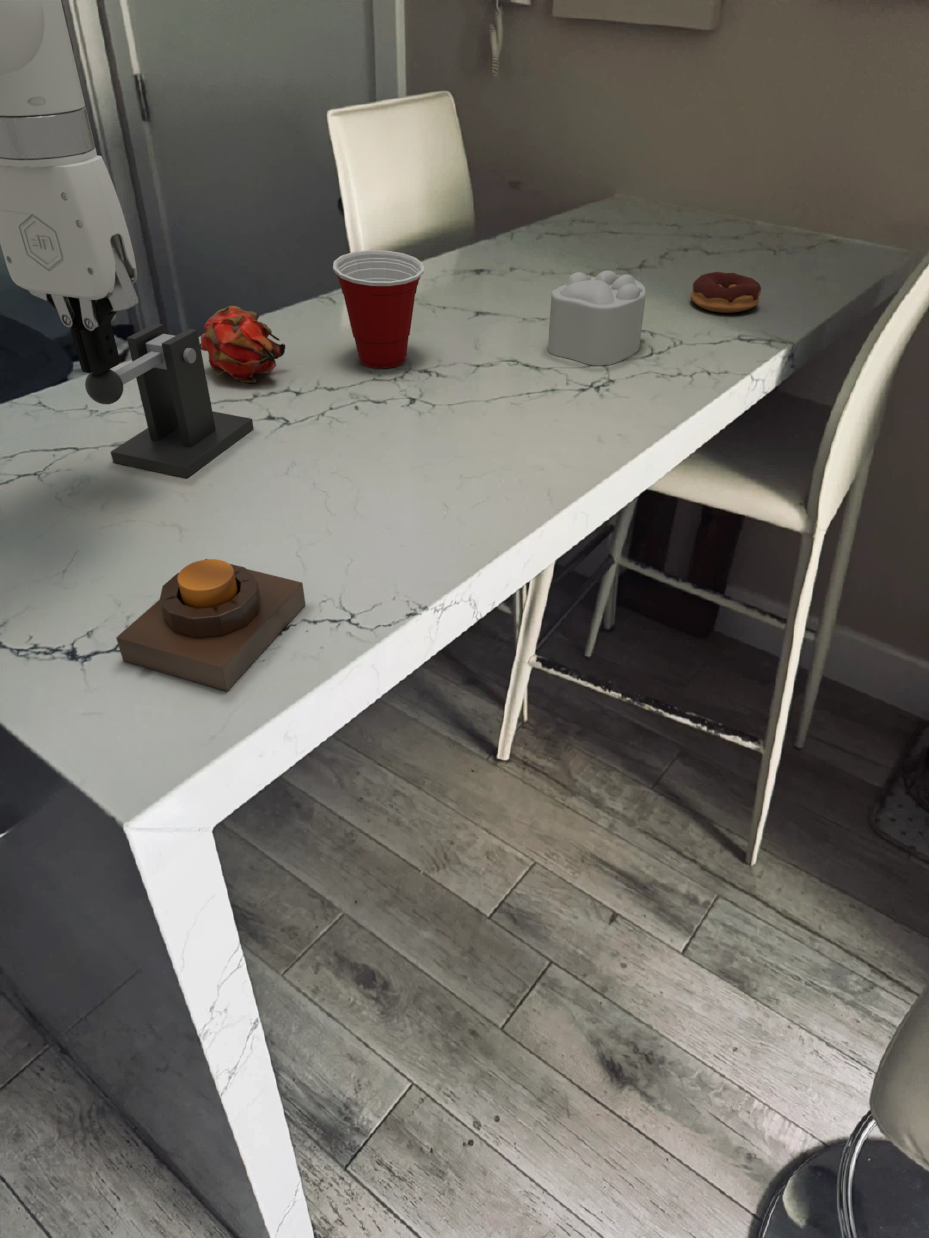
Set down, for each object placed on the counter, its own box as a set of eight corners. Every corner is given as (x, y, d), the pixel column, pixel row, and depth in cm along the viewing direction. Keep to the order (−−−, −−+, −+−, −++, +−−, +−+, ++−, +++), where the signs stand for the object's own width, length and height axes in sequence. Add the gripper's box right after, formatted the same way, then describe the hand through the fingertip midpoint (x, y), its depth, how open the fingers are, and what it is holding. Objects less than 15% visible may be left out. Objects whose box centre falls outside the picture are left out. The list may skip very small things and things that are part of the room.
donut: (696, 291, 133) (700, 264, 130) (762, 299, 130) (768, 271, 127) (682, 311, 125) (686, 283, 123) (752, 320, 122) (757, 291, 120)
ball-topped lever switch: (111, 412, 78) (102, 378, 76) (82, 407, 79) (73, 373, 77) (191, 364, 87) (185, 333, 85) (164, 360, 88) (158, 328, 86)
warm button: (217, 614, 62) (212, 595, 61) (170, 602, 64) (165, 582, 62) (247, 584, 65) (244, 565, 64) (202, 573, 66) (198, 554, 65)
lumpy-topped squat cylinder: (537, 350, 113) (541, 281, 108) (591, 324, 121) (596, 258, 116) (606, 369, 108) (613, 298, 103) (657, 340, 116) (666, 273, 111)
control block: (227, 691, 61) (217, 647, 59) (122, 660, 64) (109, 617, 61) (305, 604, 69) (300, 563, 67) (210, 580, 72) (201, 539, 70)
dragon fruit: (223, 369, 112) (279, 410, 106) (169, 346, 104) (227, 389, 99) (253, 309, 110) (311, 347, 104) (201, 281, 103) (261, 321, 97)
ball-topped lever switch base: (187, 478, 86) (162, 362, 79) (112, 462, 88) (82, 348, 81) (253, 428, 95) (236, 320, 87) (184, 415, 97) (162, 308, 90)
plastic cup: (372, 385, 104) (365, 282, 97) (324, 358, 111) (314, 260, 103) (444, 363, 109) (443, 264, 102) (394, 339, 116) (389, 244, 109)
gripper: (-74, 139, 66) (5, 371, 77) (85, 153, 62) (144, 397, 73) (1, 123, 72) (65, 342, 83) (152, 135, 67) (197, 365, 79)
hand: (101, 367), depth 78 cm, fingers closed
